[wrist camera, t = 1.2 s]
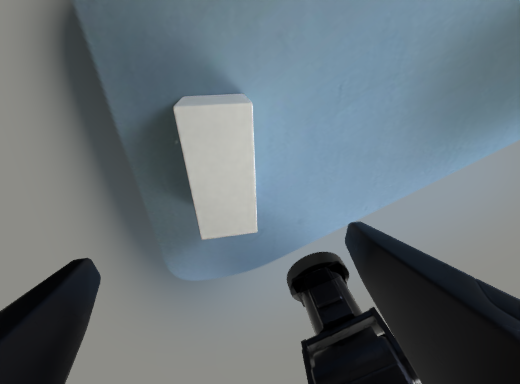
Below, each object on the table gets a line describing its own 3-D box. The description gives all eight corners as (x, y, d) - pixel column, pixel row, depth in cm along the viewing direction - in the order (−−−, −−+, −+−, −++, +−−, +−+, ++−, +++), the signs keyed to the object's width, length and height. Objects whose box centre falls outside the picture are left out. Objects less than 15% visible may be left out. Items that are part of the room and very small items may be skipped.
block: (251, 203, 17) (259, 232, 14) (203, 208, 17) (201, 240, 14) (245, 93, 13) (254, 102, 10) (182, 96, 13) (172, 106, 10)
